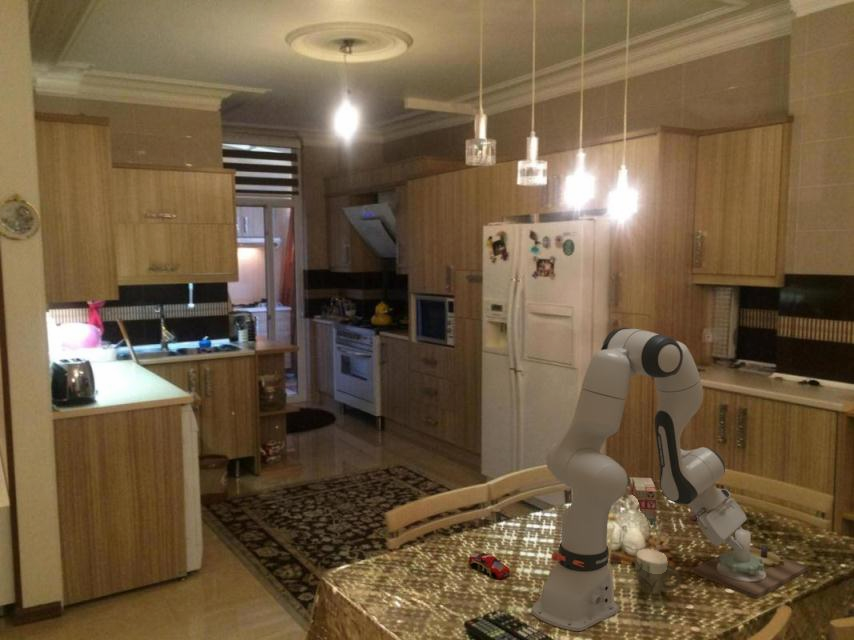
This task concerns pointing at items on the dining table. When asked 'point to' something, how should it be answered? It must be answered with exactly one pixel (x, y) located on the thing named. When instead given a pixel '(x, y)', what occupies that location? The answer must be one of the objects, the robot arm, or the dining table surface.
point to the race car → (489, 565)
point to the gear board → (757, 583)
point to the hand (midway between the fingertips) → (744, 547)
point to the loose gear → (742, 555)
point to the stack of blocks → (644, 496)
